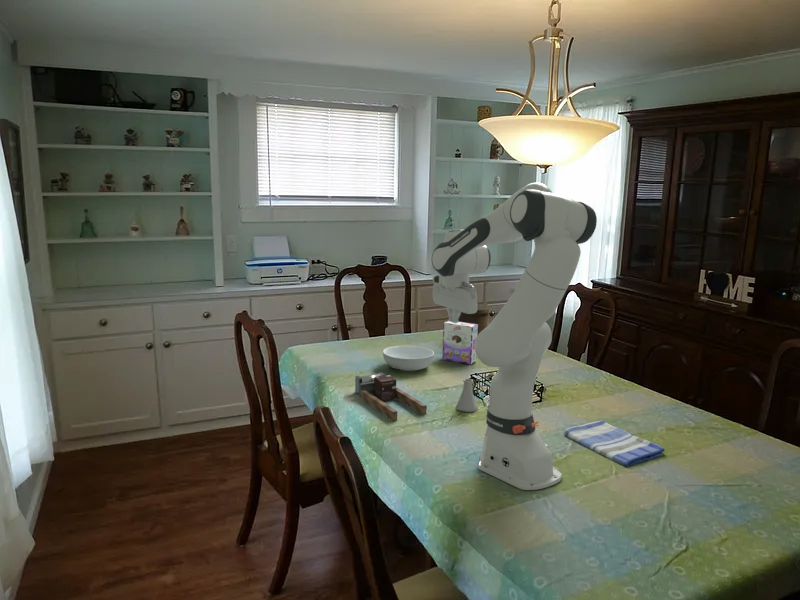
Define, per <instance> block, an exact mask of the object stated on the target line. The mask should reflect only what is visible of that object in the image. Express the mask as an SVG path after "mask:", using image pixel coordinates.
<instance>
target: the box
mask: <svg viewBox="0 0 800 600" xmlns="http://www.w3.org/2000/svg"><path fill="white" fill-rule="evenodd" d="M396 387H397V379H396V378H394V377H393V376H392V375H390V374H389V375H385V376H377V377H374V396H375V397H377V398H378V399H380V400H381V401H383V402H384V403H385V402H390V401H396V400H397V399H396Z"/></svg>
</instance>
